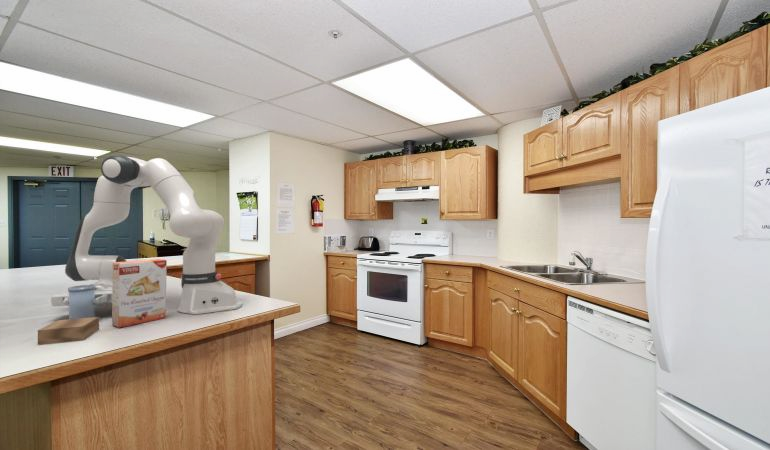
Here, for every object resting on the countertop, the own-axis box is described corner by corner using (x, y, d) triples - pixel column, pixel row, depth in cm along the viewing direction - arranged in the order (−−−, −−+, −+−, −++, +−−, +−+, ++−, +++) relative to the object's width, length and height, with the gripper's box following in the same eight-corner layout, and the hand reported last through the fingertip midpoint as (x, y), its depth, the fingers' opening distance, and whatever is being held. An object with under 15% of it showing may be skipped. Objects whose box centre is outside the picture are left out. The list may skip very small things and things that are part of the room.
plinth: (99, 329, 103) (99, 316, 103) (83, 340, 94) (83, 326, 94) (58, 333, 100) (57, 320, 100) (37, 344, 90) (37, 330, 90)
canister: (99, 318, 115) (98, 284, 115) (90, 324, 108) (89, 288, 108) (74, 320, 112) (74, 285, 112) (63, 326, 106) (63, 289, 106)
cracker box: (119, 328, 104) (118, 263, 104) (111, 325, 107) (111, 262, 107) (167, 318, 116) (167, 259, 116) (159, 315, 119) (158, 258, 119)
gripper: (63, 287, 118) (39, 295, 106) (131, 283, 126) (117, 290, 113) (63, 304, 119) (39, 314, 106) (131, 299, 126) (117, 308, 113)
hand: (80, 302), depth 109 cm, fingers closed on canister, 6 cm apart
